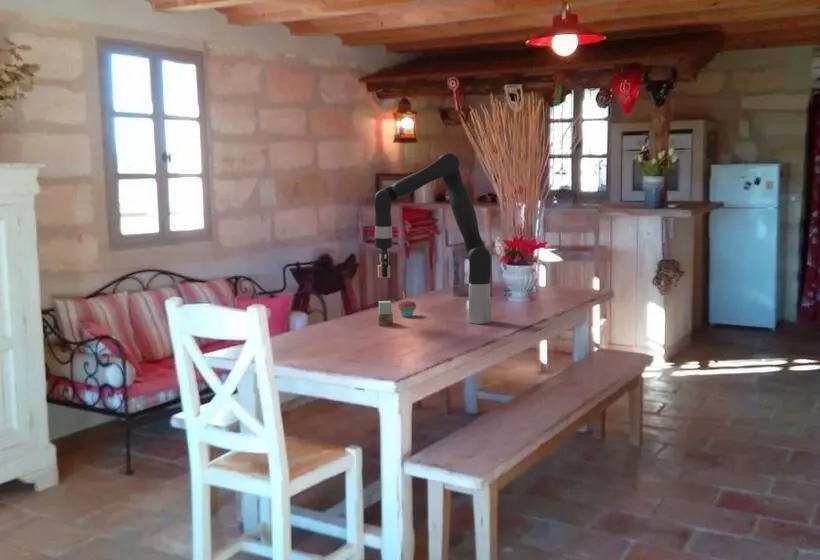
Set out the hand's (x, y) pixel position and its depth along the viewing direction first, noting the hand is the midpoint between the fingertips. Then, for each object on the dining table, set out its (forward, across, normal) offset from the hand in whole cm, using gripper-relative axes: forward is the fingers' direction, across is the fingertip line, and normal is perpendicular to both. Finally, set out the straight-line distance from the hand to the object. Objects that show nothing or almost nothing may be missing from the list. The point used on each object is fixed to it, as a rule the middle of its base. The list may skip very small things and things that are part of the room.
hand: (384, 275), depth 372 cm
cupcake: (+21, +18, -12) cm, 30 cm away
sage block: (+16, 0, 0) cm, 16 cm away
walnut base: (+21, 0, 0) cm, 21 cm away
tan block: (0, 0, 0) cm, 0 cm away
